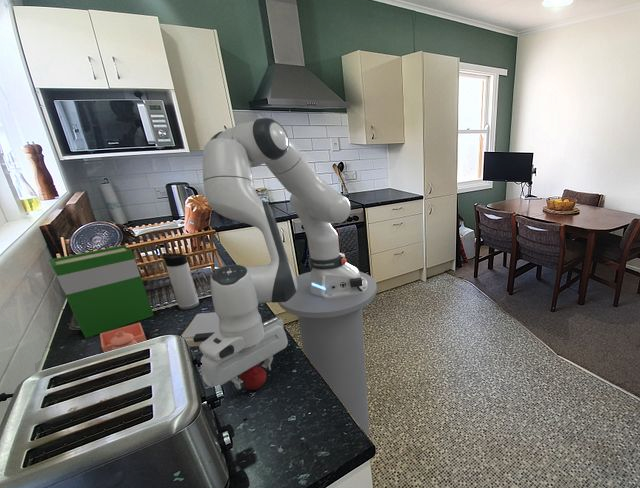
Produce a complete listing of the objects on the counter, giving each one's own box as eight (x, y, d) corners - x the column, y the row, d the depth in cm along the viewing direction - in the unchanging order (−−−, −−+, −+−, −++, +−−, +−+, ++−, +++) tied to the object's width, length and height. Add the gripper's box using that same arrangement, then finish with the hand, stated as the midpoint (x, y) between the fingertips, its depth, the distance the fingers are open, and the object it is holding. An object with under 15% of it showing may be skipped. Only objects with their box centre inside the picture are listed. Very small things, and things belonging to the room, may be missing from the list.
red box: (104, 345, 103) (92, 317, 99) (144, 333, 109) (134, 306, 105) (109, 376, 91) (96, 345, 87) (153, 361, 97) (142, 331, 93)
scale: (250, 315, 120) (248, 307, 119) (237, 342, 106) (235, 334, 105) (199, 319, 117) (196, 312, 116) (178, 348, 103) (175, 339, 101)
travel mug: (173, 308, 123) (157, 256, 115) (190, 300, 129) (176, 250, 121) (187, 311, 122) (171, 259, 113) (203, 303, 127) (189, 252, 119)
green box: (147, 308, 123) (125, 244, 113) (154, 315, 119) (131, 250, 109) (80, 329, 110) (49, 259, 101) (85, 338, 106) (53, 266, 96)
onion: (268, 378, 92) (263, 353, 89) (268, 393, 87) (263, 367, 84) (244, 383, 90) (238, 359, 87) (242, 399, 85) (236, 373, 82)
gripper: (273, 310, 91) (281, 353, 97) (190, 349, 75) (205, 398, 81) (289, 317, 88) (296, 361, 94) (206, 360, 72) (220, 409, 78)
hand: (253, 378), depth 87 cm, fingers closed on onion, 6 cm apart
